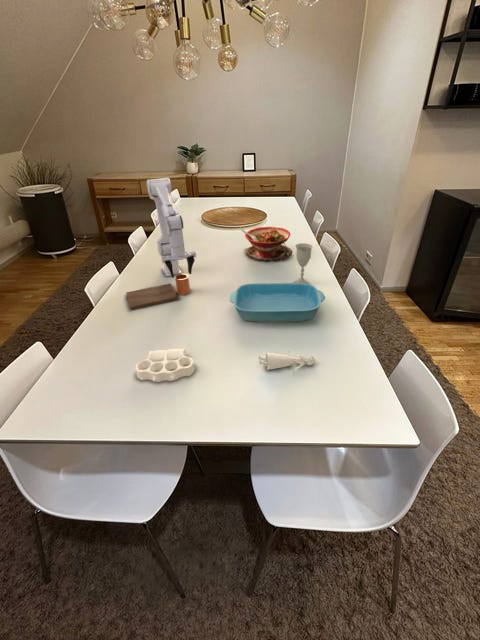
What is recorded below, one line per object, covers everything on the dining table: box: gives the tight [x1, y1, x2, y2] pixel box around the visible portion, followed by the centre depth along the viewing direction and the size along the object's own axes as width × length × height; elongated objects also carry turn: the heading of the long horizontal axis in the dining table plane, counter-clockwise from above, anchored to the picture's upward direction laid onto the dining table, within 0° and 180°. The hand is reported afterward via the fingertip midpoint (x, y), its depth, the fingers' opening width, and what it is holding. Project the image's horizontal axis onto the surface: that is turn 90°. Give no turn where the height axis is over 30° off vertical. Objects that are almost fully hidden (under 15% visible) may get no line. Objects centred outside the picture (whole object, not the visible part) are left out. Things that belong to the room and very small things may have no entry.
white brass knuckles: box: [134, 347, 195, 383], centre depth 110 cm, size 3×18×15 cm
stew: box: [238, 225, 293, 263], centre depth 182 cm, size 28×24×16 cm
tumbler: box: [174, 273, 191, 296], centre depth 152 cm, size 6×6×8 cm
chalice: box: [295, 242, 314, 284], centre depth 152 cm, size 7×7×18 cm
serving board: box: [125, 282, 179, 311], centre depth 151 cm, size 14×20×2 cm
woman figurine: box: [258, 349, 316, 374], centre depth 109 cm, size 12×4×18 cm
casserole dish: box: [229, 282, 326, 323], centre depth 136 cm, size 37×22×7 cm, turn 86°
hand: (181, 275), depth 150 cm, fingers open, 7 cm apart
